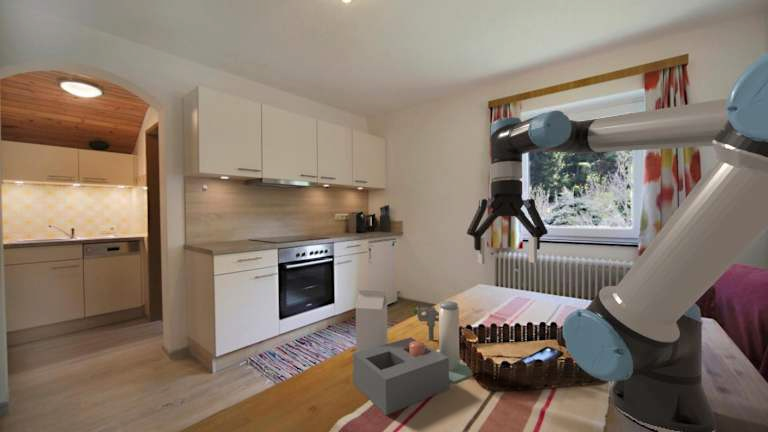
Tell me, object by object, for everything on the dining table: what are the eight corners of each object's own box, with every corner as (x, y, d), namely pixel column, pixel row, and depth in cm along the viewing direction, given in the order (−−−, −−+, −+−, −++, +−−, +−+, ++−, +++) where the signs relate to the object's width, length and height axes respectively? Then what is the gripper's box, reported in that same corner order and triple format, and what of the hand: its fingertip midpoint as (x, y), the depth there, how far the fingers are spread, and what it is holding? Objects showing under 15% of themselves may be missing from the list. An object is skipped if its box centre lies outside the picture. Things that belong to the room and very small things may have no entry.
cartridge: (456, 361, 82) (455, 300, 82) (461, 370, 77) (461, 306, 77) (437, 361, 82) (437, 301, 82) (442, 371, 77) (441, 306, 77)
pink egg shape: (427, 376, 73) (427, 345, 73) (416, 381, 71) (415, 348, 71) (418, 370, 76) (418, 339, 76) (406, 374, 74) (406, 343, 74)
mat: (479, 372, 77) (479, 370, 77) (453, 383, 72) (453, 381, 72) (445, 354, 87) (445, 352, 87) (420, 362, 82) (420, 361, 82)
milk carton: (382, 367, 80) (381, 293, 80) (356, 364, 81) (355, 292, 81) (387, 355, 87) (387, 287, 87) (363, 353, 88) (362, 286, 88)
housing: (449, 388, 69) (448, 357, 69) (385, 415, 60) (385, 379, 60) (410, 363, 81) (410, 337, 81) (353, 383, 72) (352, 353, 72)
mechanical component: (448, 341, 95) (448, 309, 95) (415, 341, 96) (414, 309, 96) (446, 337, 98) (446, 306, 98) (414, 337, 98) (414, 306, 99)
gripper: (545, 181, 84) (545, 259, 84) (454, 182, 83) (455, 261, 83) (562, 178, 76) (563, 264, 76) (463, 178, 75) (463, 265, 75)
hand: (507, 262), depth 79 cm, fingers open, 13 cm apart
